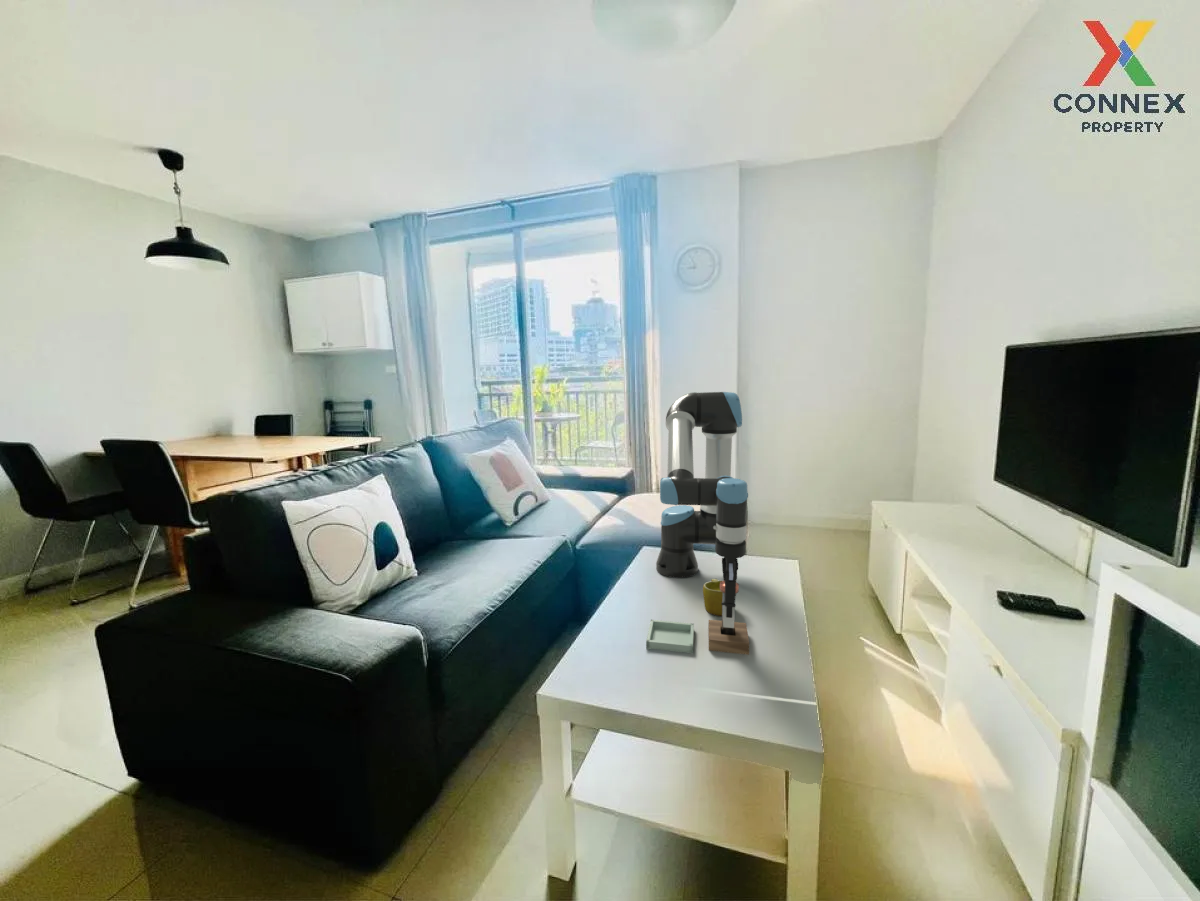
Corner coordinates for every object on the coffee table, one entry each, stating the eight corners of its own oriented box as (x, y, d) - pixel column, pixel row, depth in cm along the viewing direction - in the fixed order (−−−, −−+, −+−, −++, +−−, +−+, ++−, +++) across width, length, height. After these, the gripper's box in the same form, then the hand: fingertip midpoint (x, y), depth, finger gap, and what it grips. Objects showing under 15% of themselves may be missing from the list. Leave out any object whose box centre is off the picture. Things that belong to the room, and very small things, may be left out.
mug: (742, 616, 135) (731, 582, 136) (707, 623, 137) (697, 589, 138) (741, 603, 146) (731, 572, 147) (709, 610, 149) (699, 579, 150)
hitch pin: (718, 632, 128) (719, 579, 125) (736, 634, 126) (738, 581, 124) (718, 642, 123) (720, 587, 120) (737, 644, 122) (739, 589, 119)
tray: (650, 627, 133) (650, 619, 133) (693, 631, 130) (693, 623, 130) (646, 649, 123) (646, 641, 122) (692, 654, 120) (692, 646, 120)
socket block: (708, 631, 131) (708, 619, 130) (745, 634, 128) (746, 623, 128) (708, 651, 121) (708, 639, 120) (748, 656, 119) (749, 643, 118)
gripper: (714, 527, 128) (713, 606, 133) (716, 550, 113) (714, 638, 117) (743, 529, 127) (740, 608, 131) (748, 552, 111) (745, 641, 115)
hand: (728, 622), depth 124 cm, fingers closed on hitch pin, 3 cm apart
